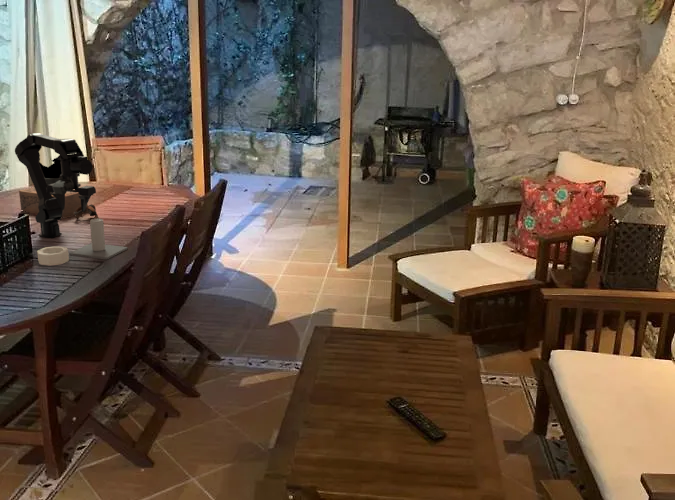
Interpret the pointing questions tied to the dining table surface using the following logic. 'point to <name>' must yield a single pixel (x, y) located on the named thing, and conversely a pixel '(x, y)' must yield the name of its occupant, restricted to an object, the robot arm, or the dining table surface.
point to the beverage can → (97, 234)
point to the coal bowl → (52, 171)
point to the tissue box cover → (72, 201)
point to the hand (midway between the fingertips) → (73, 210)
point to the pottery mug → (86, 211)
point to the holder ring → (53, 255)
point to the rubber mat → (105, 254)
